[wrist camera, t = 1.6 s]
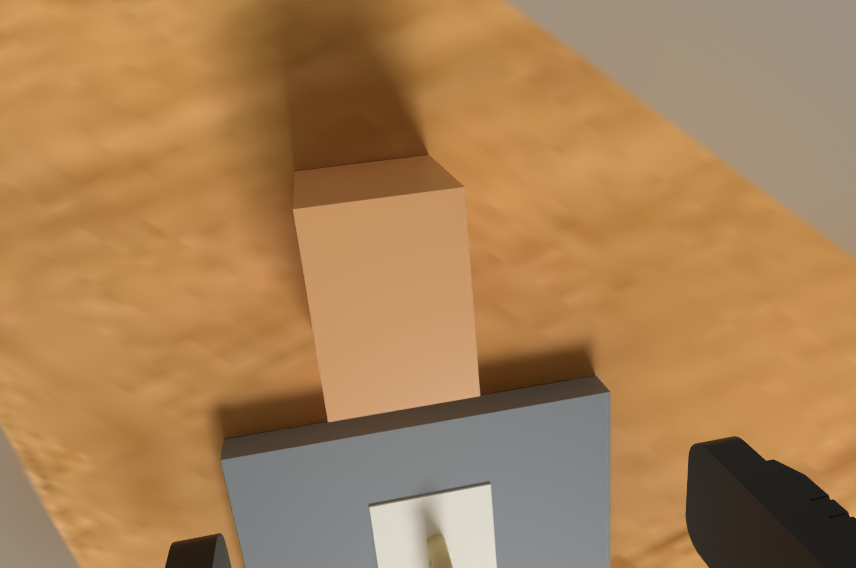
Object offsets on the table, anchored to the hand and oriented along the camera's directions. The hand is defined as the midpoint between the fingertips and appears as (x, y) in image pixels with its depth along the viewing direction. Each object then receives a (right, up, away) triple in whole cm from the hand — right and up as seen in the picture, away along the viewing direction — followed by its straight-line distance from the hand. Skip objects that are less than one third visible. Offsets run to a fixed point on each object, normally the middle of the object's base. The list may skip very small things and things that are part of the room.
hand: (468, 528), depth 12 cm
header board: (-1, -8, +20) cm, 22 cm away
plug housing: (-3, +5, +15) cm, 16 cm away
